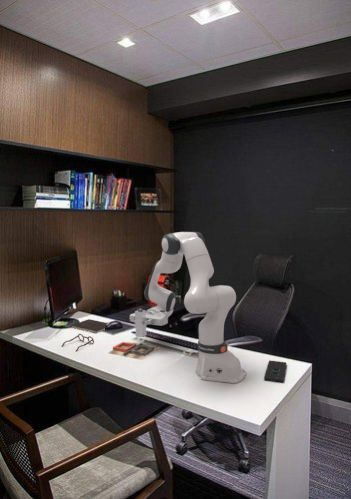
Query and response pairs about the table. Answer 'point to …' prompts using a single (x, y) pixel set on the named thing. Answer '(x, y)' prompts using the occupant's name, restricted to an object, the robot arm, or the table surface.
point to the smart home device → (275, 371)
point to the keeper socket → (124, 348)
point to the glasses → (81, 340)
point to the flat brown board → (136, 351)
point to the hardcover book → (90, 326)
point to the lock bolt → (140, 322)
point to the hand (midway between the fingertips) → (139, 322)
